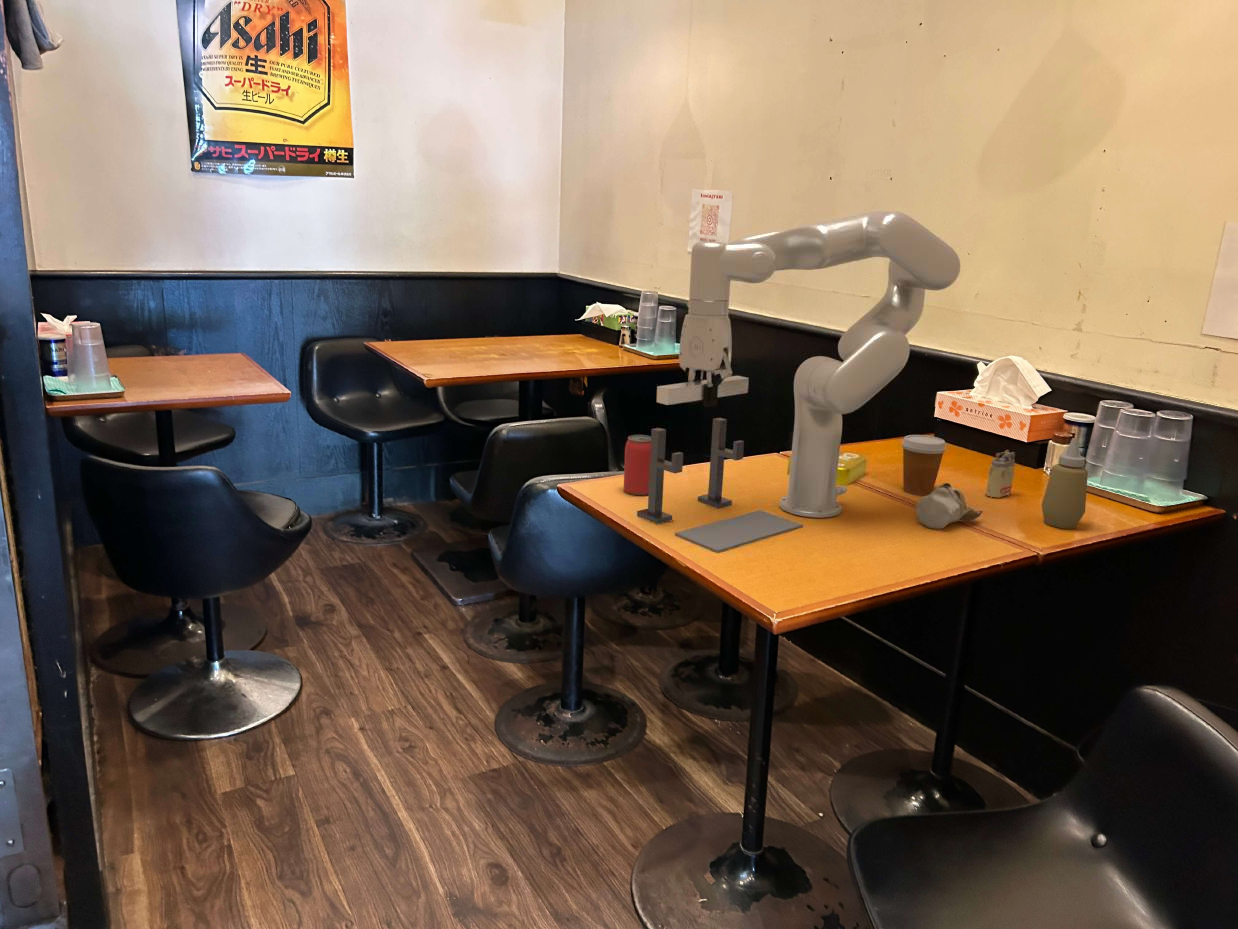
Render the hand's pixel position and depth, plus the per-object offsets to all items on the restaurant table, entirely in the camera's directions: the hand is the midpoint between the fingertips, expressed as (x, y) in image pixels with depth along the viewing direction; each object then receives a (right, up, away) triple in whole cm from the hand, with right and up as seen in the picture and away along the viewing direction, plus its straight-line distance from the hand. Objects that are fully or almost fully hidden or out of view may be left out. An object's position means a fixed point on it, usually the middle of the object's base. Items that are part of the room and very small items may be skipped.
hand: (703, 403), depth 172 cm
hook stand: (-2, -22, +7) cm, 23 cm away
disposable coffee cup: (+51, -18, +27) cm, 60 cm away
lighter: (+69, -19, +27) cm, 76 cm away
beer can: (-12, -18, +20) cm, 29 cm away
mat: (+7, -25, -3) cm, 26 cm away
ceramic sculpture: (+49, -24, +7) cm, 55 cm away
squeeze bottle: (+73, -24, +8) cm, 78 cm away
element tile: (+33, -15, +39) cm, 53 cm away
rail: (0, +1, 0) cm, 1 cm away
